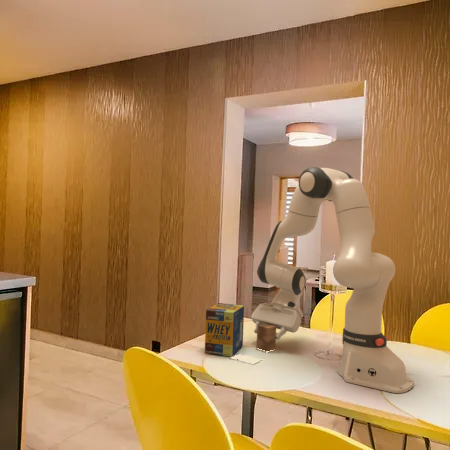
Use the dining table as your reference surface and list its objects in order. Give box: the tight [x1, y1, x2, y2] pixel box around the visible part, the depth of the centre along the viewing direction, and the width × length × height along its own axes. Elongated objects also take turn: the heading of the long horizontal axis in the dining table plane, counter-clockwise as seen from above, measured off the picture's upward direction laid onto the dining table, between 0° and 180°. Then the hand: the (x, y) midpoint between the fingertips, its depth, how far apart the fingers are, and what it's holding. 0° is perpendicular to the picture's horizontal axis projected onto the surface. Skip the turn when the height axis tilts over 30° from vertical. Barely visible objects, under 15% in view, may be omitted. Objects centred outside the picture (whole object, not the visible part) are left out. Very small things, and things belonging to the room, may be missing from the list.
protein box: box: [204, 302, 245, 357], centre depth 151 cm, size 10×15×16 cm
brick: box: [256, 324, 277, 351], centre depth 153 cm, size 5×5×9 cm
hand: (266, 335), depth 153 cm, fingers open, 8 cm apart
